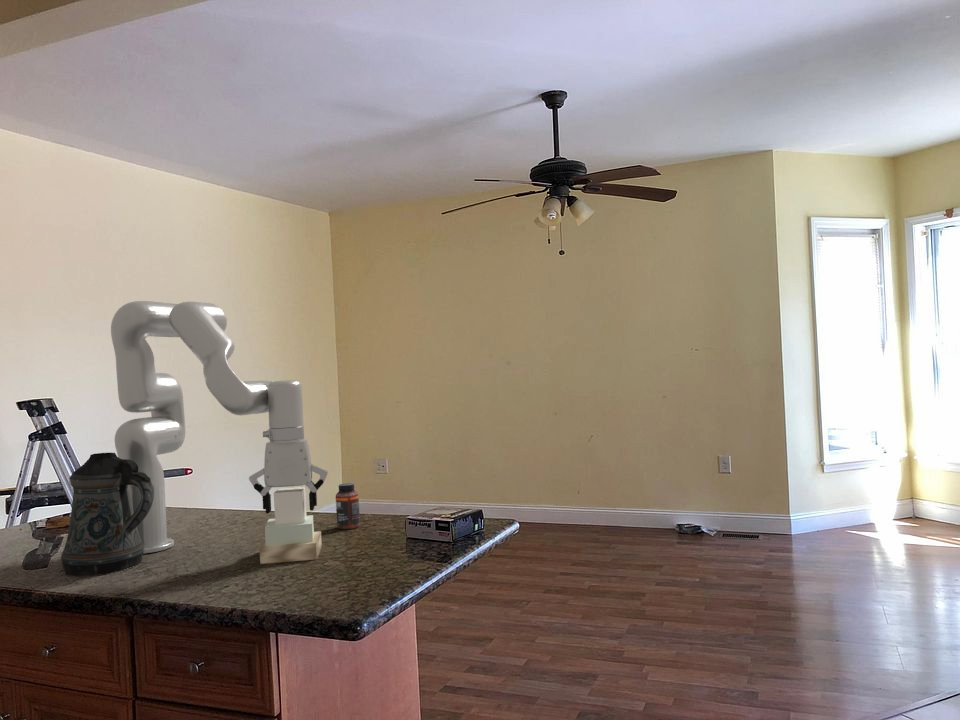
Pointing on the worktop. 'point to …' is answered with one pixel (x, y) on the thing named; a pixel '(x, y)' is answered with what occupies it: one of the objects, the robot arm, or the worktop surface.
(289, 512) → the pillar block
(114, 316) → the robot arm
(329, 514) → the worktop surface
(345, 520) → the supplement bottle
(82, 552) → the beer stein
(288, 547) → the bottom block
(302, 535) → the top block
